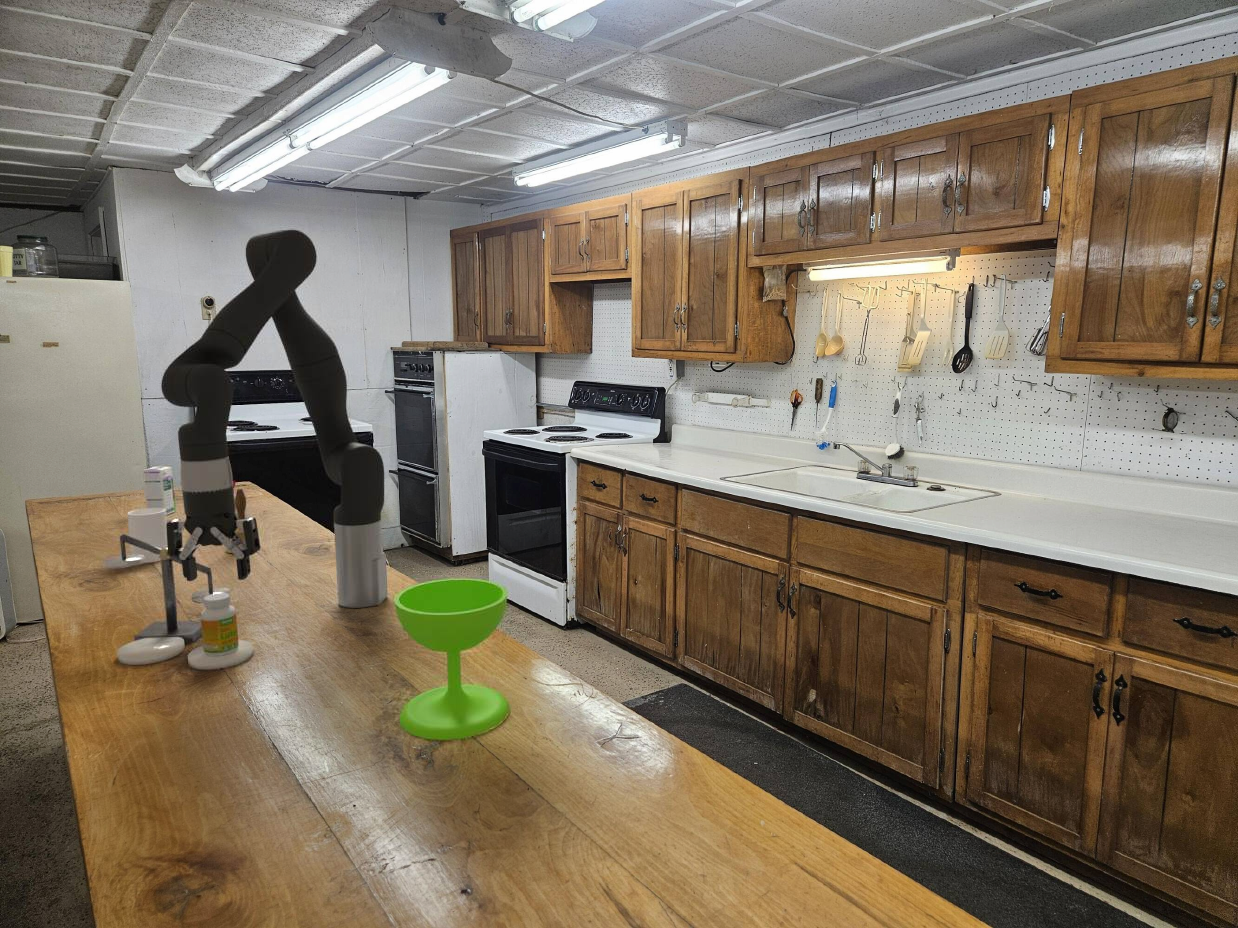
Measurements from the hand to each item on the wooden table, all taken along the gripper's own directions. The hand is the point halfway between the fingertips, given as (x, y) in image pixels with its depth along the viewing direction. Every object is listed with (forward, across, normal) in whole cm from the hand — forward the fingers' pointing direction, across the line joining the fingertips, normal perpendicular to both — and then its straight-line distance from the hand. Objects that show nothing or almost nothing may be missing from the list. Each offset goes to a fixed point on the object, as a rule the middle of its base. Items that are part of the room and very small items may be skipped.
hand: (217, 579), depth 132 cm
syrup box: (+15, +71, -111) cm, 132 cm away
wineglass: (+15, -43, +21) cm, 50 cm away
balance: (+14, +14, -10) cm, 22 cm away
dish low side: (+14, +1, 0) cm, 14 cm away
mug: (+14, +48, -62) cm, 80 cm away
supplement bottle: (+13, +1, 0) cm, 13 cm away
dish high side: (+14, +14, -2) cm, 20 cm away
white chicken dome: (+15, +43, -90) cm, 101 cm away
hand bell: (+15, +28, -69) cm, 76 cm away
